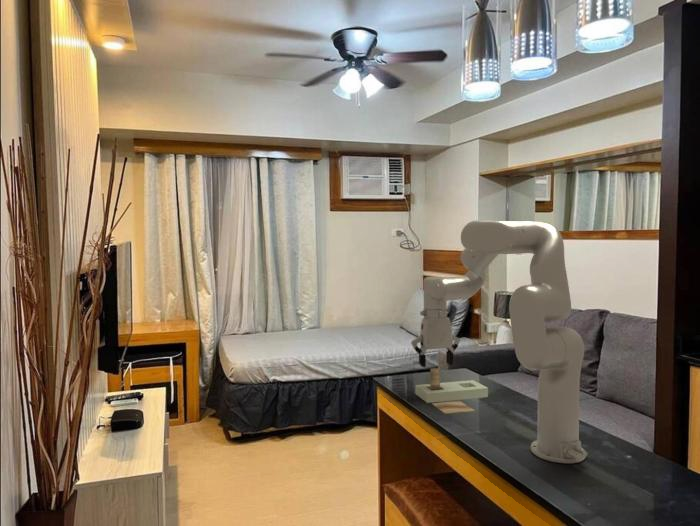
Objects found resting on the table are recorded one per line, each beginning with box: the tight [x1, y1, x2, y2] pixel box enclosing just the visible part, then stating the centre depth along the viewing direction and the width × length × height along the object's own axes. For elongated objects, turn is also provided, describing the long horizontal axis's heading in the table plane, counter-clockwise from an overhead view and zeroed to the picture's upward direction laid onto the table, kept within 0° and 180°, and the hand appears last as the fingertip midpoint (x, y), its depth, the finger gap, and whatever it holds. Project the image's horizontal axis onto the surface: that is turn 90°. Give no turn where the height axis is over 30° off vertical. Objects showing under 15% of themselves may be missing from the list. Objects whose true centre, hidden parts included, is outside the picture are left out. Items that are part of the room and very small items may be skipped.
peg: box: [429, 367, 441, 391], centre depth 168 cm, size 3×3×10 cm
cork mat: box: [431, 400, 476, 415], centre depth 158 cm, size 10×10×1 cm
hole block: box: [414, 379, 489, 404], centre depth 170 cm, size 10×22×4 cm, turn 105°
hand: (436, 365), depth 167 cm, fingers open, 9 cm apart
